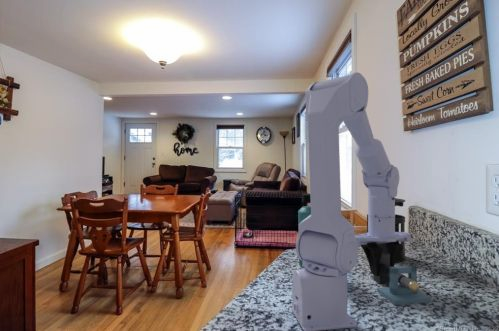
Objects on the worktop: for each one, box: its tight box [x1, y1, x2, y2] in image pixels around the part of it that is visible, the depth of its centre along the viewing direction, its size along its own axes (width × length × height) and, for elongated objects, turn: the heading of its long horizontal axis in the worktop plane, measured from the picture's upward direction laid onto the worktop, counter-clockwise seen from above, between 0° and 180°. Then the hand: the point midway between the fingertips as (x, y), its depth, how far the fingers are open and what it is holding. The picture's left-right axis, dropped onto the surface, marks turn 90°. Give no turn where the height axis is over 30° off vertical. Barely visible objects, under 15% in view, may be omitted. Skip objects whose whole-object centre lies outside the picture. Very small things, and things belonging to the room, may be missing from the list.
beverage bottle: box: [297, 193, 311, 269], centre depth 76 cm, size 6×7×20 cm
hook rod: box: [372, 251, 420, 292], centre depth 64 cm, size 13×3×7 cm, turn 8°
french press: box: [366, 197, 407, 263], centre depth 88 cm, size 12×9×23 cm
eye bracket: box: [376, 264, 432, 306], centre depth 62 cm, size 6×8×6 cm
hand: (381, 273), depth 70 cm, fingers closed on hook rod, 3 cm apart
